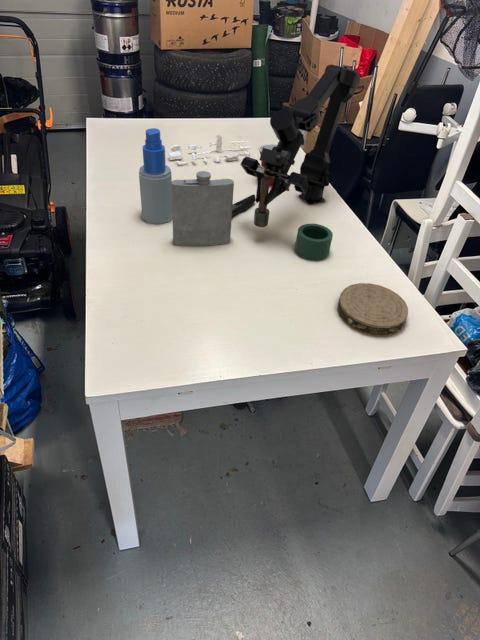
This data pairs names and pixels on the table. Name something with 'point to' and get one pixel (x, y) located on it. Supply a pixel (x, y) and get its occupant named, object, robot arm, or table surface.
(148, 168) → the spray bottle
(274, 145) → the plastic cup
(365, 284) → the wood slice coaster
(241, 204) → the electric trimmer
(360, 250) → the table surface
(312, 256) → the round container
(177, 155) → the miniature set
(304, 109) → the robot arm
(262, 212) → the brown cylinder with base
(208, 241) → the hip flask
